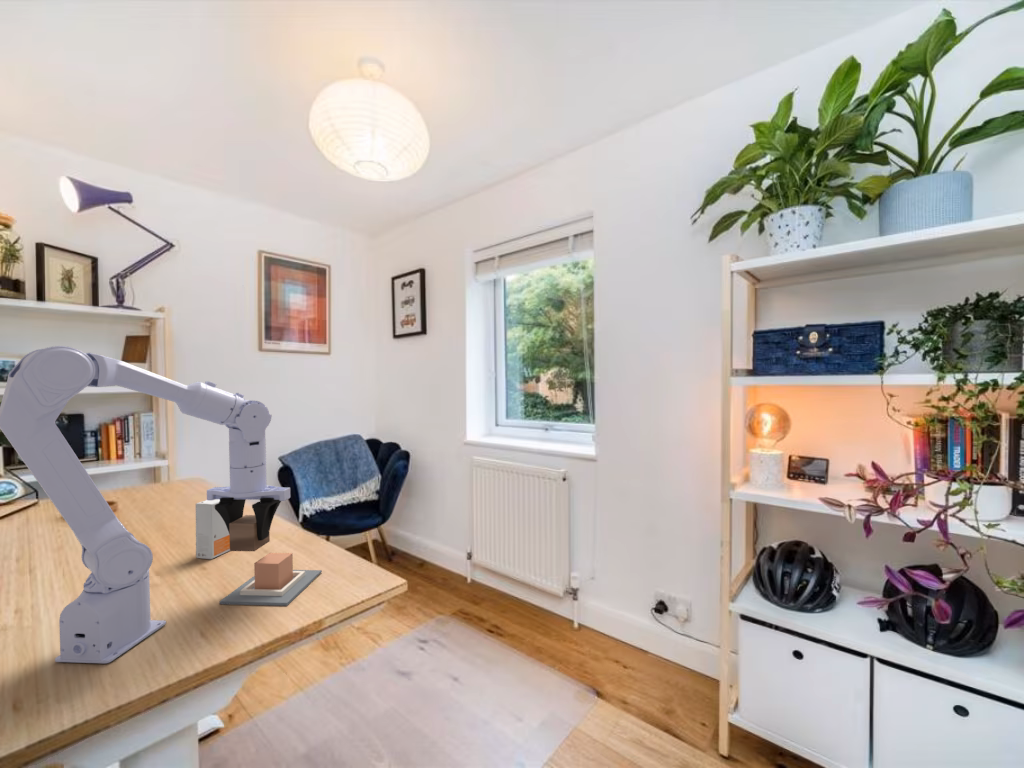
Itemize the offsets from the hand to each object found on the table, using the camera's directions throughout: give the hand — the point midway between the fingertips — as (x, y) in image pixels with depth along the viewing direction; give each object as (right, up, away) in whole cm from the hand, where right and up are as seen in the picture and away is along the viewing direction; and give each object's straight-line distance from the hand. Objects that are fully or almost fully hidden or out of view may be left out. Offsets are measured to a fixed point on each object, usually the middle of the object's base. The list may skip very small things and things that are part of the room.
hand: (250, 538), depth 78 cm
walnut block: (0, -2, 0) cm, 2 cm away
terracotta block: (+4, -9, +1) cm, 10 cm away
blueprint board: (+4, -10, +1) cm, 10 cm away
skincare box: (-17, -9, +16) cm, 25 cm away
